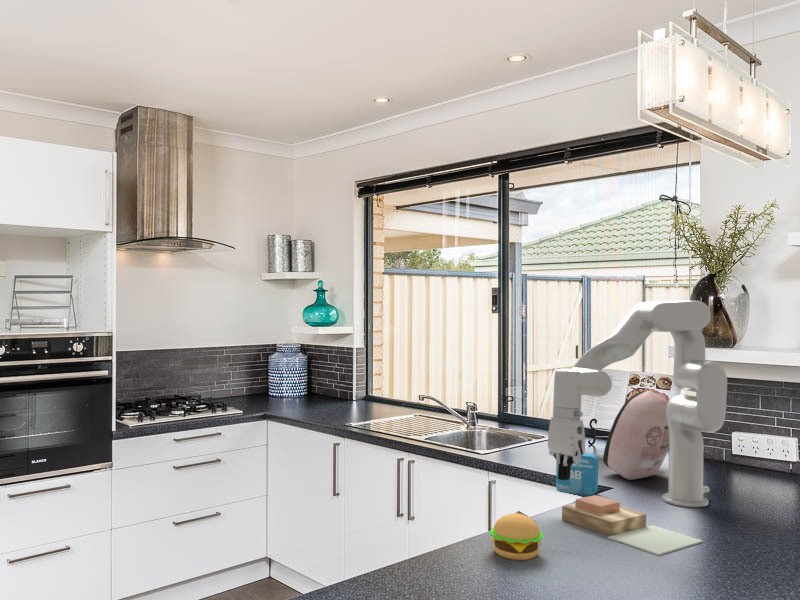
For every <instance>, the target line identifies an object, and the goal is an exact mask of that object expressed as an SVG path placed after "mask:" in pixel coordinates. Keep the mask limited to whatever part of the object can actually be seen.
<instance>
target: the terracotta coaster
mask: <svg viewBox="0 0 800 600" xmlns="http://www.w3.org/2000/svg"><path fill="white" fill-rule="evenodd" d="M575 504H576V507H578V508H581V509H585V510H588V511H591V512H594V513H597V514H604V513H608V512H612V511H617V510H620V506H621V503H620V501H616V500H614V499H610V498H606V497H603V496H599V495H596V494H594V495H593V496H585V497H584V496H583V497H580V498H575Z"/></svg>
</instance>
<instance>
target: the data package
mask: <svg viewBox="0 0 800 600" xmlns="http://www.w3.org/2000/svg"><path fill="white" fill-rule="evenodd" d="M555 466H556V468H555V477H556V478H555V488H556V490H557V491H558V492H559V493H564V494H565V493H566V494H572V495H580V496H585V497H589V496H594V495H596V493H597V492H598V488H599V457H598V455H596V454H594V453H586V452H585V453H584V455H581V461H575V462H574V463H573V465H572V466H571V469H570V479H569V480H559V479H558V464H557V463H556V465H555Z"/></svg>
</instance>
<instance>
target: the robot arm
mask: <svg viewBox="0 0 800 600" xmlns="http://www.w3.org/2000/svg"><path fill="white" fill-rule="evenodd" d="M711 314H712V313H711V309H710V307H709V306H708V305H707V304H706V303H705V302H703V301H701V300H693V299H692V300H691V299H690V300H683V299H681V300H679V299H678V300H667V301H644V302H639V303H637V304H636V305H634V306H633V307H632V308H631V310H629V312H628V313H627V314H626V316H625V317H624V318H623V319H622V320H621V322H620V323H619V324H618V325H617V326H616V328H615V329H614V330H613V331H612V332H611V334H610V335H609V336H608V337H606V338H605V339H603V340H601V341H600V342H598V343H597V344H596V345H594V346H593V347H591V348H589V350H587V351H586V352H585V353H583V354H582V355H581V356H580V358H579V359H577V361H576V362H575V364H574V365H573V366H572V368H558V369H556V370H555V372H554V377H553V379H554V380H553V381H554V382H553V403H552V404H553V405H552V416H551V417H550V422H549V425H548V426H549V428H548V435H547V448H548V450H549V451H548V454H549V455H550V456H552V457H554V459H555V462H556V463H557V464H558V479H559V480H569V479H570V469H571V466H572V465H573V463H574V462H575V461H581V455H584V453H586V434H585V433H586V432H585V426H584V421H583V420H584V419H583V420H582V419H581V417H583V415H584V412H583V411H582V396H590V397H594V398H595V397H596V398H598V397H599V398H600V397H604V396H606V395H608V393H610V391H611V389H612V386H613V382H612V379H611V376H609V374H608V373H606V372H605V371H603V369H605V368H606V367H608V366H610V365H612V364H614V363H617V362H621V361H624V360H626V359H629V358H631V357H632V356H634V355H636V353H637V351H639V349H640V348H641V346H643V344H644V342H646V341H647V339H648V338H649V336H650V335H651V334H652V333H654V332H660V333H661V332H662V333H663V332H664V333H670V334H671V336H672V339H673V343H674V354H673V355H674V357H673V372H672V373H673V376H672V377H673V383H674V385H675V386H676V387H677V388H678V389H681V390H684V391H687V392H688V391H689V392H694V393H696V395H695V396H694V395H688V394H679V395H675V396H673V397H671V398H670V399H669V401H667V403H668V404H667V407H666V416H667V422H668V427H669V448H668V482H667V483H668V488H667V490H668V491H667V492H666V493H663V495H662V500H663V501H664V502H666V503H668V504H671V505H674V506H675V505H676V506H679V507H686V508H703V507H707V506H708V505H709V499H707V498H706V497H704V494H706V493H709V492H710V487H709V486H708V485H704V450H705V448H704V447H705V446H704V445H705V444H704V439H703V434H702V432H703V433H710V434H711V433H715V432H718V431H719V430H720V429H722V427H723V426H724V423H725V419H726V412H727V411H726V410H727V396H728V378H727V374H726V371H725V369H724V368H723V366H722V365H720V364H719V363H717V361H716V362H715V361H711V360H706V340H705V336H704V334H703V333H702V331H701V330H702V329H704V328H705V327H707V326H708V325H709V323H710V320H711V316H712V315H711Z"/></svg>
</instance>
